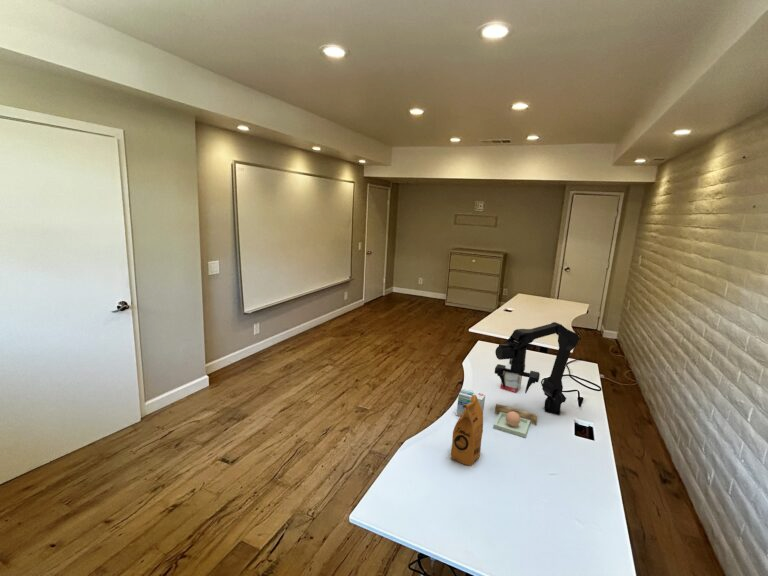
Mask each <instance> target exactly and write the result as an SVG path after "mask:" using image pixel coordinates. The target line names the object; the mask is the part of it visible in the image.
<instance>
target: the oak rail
mask: <svg viewBox="0 0 768 576" xmlns="http://www.w3.org/2000/svg"><path fill="white" fill-rule="evenodd" d="M511 411H514V412H516V413H518V414H519V416H520V417H521V418H524V419H528V420H530V425H534V426H537V423H538V416H539V415H538V414H536V413H531V412H528V411H524V410H520V409H517V408H513V407H509V406H507V405H504V404H503V405H502V404H498V403H495V406H494V414H495V415H499V413H500V412H503V413H506V414H507V413H508V412H511Z"/></svg>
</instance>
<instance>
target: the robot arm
mask: <svg viewBox="0 0 768 576" xmlns="http://www.w3.org/2000/svg"><path fill="white" fill-rule="evenodd" d="M555 334H556V335H557V336H558V337H557V343H558V350H557V354H556V357H555V359H554V363H553V367H552V369H551V373H550V375H549V377H547V378H543V382H542V384H541V388H542V391H543V394H544V396H546V398H545V401H544V407H543V408H544V412H546V413H549V414H554V415H558V416H560V414H561V410H562V409H561V408H562V407H561V406H562V404H563V403H565V402H566V400H567V397H566V395H564V393H563V389H564V385H563V381H562V380H563V376H564V373H565V369H566V367H567V363H568V360H569V358H570V355H571V351H573V350H574V349H575V348H576V347H577V345H578V343H579V341H580V336H579V333H577V332H575V331H572V330H570V329H568V328H567V327H565V326H564V325H562V324H561V323H558V322H556V321H555V322H554V321H553V322H551V323H548V324H545V325H541V326H537V327H534V328H516V329H514V330H513V332H512V333H511V335H510V336H509V338H508V339H507V340H506V342H505V343H499V344H498V346H497V347H496V349H495V353H494V354H495V357H496V359H498V360H499V361H501V360H509V363H508V364H511V369H507V368H506V365H505V364H496V365H495V367H494V374H496V375H497V377H499V378H500V382H501V381H502V384H503V387H504V389H505V385H506V378H505V376H506V373H510V374H515V375H520V376H522V377H526V378H528V380H527V383H526V387H525V389H524V390H525V391H524V394H527V392H528V391H529V389H530V387H531V386H532V385H533V384H536V383H539V382H540V381H539V380H540V376H541V375H540V372H539V371H535V370H534V371H533V370H530V372H528V371H527V372H526V371H525V370H526V355H527V350H531V349H532V347H531V346H530V345H529V344H532V343H533V342H534V340H536V339H540V338H544V337H547V336H551V335H555ZM504 389H503V390H504Z"/></svg>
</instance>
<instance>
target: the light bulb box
mask: <svg viewBox="0 0 768 576" xmlns="http://www.w3.org/2000/svg"><path fill="white" fill-rule="evenodd" d="M473 395H476V396H477V399H478V401H479V404H480V406H481V409H482V412H483V413H484V411H485V403H486V402H485V401H486V394H485V393H481V392H478V391H474V390H470V389H466V388H462V389H461V391H459V393H458V397H457V406H456V417H459V418H460V417H461V415H462V413H463V411H464V410H465V409H466V408H463V406H464V405H466V404H470V403H471V397H472V396H473Z"/></svg>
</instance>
